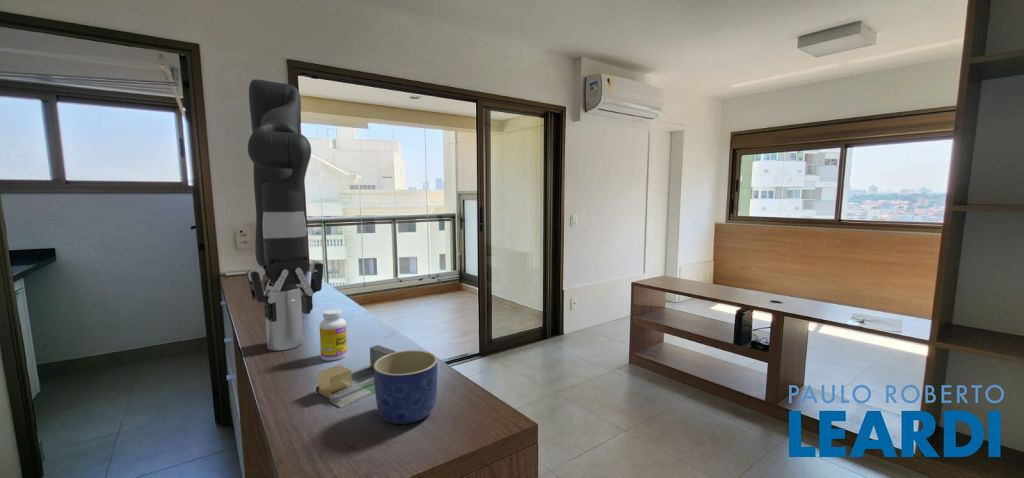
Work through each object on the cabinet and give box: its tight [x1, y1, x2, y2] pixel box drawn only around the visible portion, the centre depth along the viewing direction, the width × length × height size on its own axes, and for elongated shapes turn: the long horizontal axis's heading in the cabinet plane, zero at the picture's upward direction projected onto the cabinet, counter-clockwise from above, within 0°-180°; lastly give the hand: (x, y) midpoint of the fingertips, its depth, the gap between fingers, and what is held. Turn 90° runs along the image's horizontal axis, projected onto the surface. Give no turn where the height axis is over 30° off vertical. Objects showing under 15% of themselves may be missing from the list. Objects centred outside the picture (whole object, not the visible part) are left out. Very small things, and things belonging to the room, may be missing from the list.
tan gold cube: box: [317, 364, 353, 400], centre depth 88 cm, size 8×5×5 cm, turn 53°
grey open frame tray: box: [312, 344, 397, 408], centre depth 93 cm, size 11×17×6 cm, turn 143°
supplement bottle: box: [319, 308, 348, 362], centre depth 110 cm, size 7×7×13 cm
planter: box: [373, 349, 438, 425], centre depth 81 cm, size 12×12×11 cm
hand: (289, 316), depth 81 cm, fingers open, 6 cm apart
